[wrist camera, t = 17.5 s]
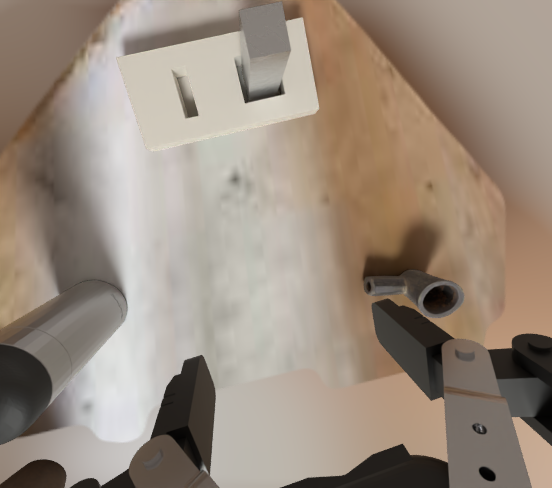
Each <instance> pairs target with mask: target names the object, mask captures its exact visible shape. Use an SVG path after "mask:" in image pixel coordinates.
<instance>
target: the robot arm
mask: <svg viewBox="0 0 552 488" xmlns="http://www.w3.org/2000/svg"><path fill="white" fill-rule="evenodd" d="M372 313H373V319H374V325H375V331H376V335H377V338H378V340H379V342H380V343H381V345H382V346H383V347H384V348H385V349H386V351H387V352H388V353H389V354H390V355H391V356H392V357H393V358H394V360H395V361H396V362H397V363H398V364H399V365H400V366H401V367H402V369H403V370H404V371H405V372H406V373H407V374H408V375H409V376H410V377H411V378H412V380H413V381H414V382H415V383H416V384H417V385H418V387H419V388H420V389H421V390H422V391H423V392H424V393H425V394H426V395H427V397H428V398H429V399H430V400H431V401H432V400H434V399H437V398H440V397H442V398H443V399H444V401H445V402H444V403H445V420H446V434H447V435H446V436H447V453H448V463H447V462H445V461H442V460H439V459H436V458H433V457H428V456H421V455H410V454H409V453H408V451H407V450H406V448H405V446H404V445H403V444H400V445H398V446H395V447H392V448H389V449H387V450H384V451H381V452H378V453H376V454H373V455H371V456H370V457H369V458H367V459H366V460H365V461H363V462H362V463H361V464H359V465H358V466H357V467H355V468H354V469H353V470H351V471H350V472H349V473H347V474H346V475H343V476H330V477H315V478H314V477H313V478H306V479H303V480H301V481H298V482H295V483H292V484H290V485H287V486H284V487H281V488H532V487H531V483H530V479H529V476H528V472H527V469H526V466H525V462H524V459H523V455H522V452H521V448H520V445H519V441H518V438H517V435H516V431H515V428H514V424H513V421H512V417H520V418H521V419H522V420H524V421H525V422H526V423H527V424H528V425H529V426H530V427H531V428H532V429H534V430H535V431H536V432H537V433H538V434H539V435H541V437H542V438H543V439H545V440H546V441H547V442H548V443H549V444H550V445H551V446H552V338H550V337H547V336H543V335H538V334H521V335H518V336H515V337H514V338H513V339H512V348H508V349H493V350H487V349H486V348H485V347H483V346H482V345H480V344H479V343H476V342H474V341H471V340H466V339H454V338H453V337H452V336H450V335H449V334H448V333H446V332H445V331H443V330H442V329H441V328H439V327H438V326H436V325H435V324H434V323H432V322H430V320H428V319H427V318H425V317H423V315H421V314H420V313H419V312H417V311H416V310H414V309H412V308H409V307H406V306H398V305H396V304H395V303H394V302H393V301H391V300H390V299H384V300H381V301H378V302H375V303H372ZM126 315H127V304H126V301H125V299H124V297H123V295H122V294H121V293H120V291H119V290H118V289H116V288H115V287H114V286H112V285H110V284H108V283H106V282H102V281H96V280H91V281H85V282H81V283H79V284H77V285H75V286H74V287H72V288H70V289H69V290H67V291H65V292H63V293H62V294H60V295H58V296H56V297H55V298H53V299H51V300H50V301H48V302H46V303H45V304H43V305H41V306H40V307H38V308H36V309H34V310H33V311H31V312H29V313H28V314H26V315H24V316H23V317H21V318H19V319H17V320H16V321H14V322H12V323H11V324H9V325H7V326H6V327H4V328H2V329H0V445H1V444H4V443H7V442H9V441H11V440H13V439H15V438H16V437H18V436H20V435H21V434H22V433H23V432H25V431H26V430H27V429H28V428H29V427H30V426H31V425H32V424H33V423H34V422H35V421H36V420H37V419H38V417H39V416H40V415H41V414H42V413H43V412H44V411H45V409H46V408H47V407H48V406H49V405H50V404H51V403H52V402H53V401H54V400H55V398H56V397H57V396H58V395H59V394H60V393H61V392H62V391H63V389H64V388H65V387H66V386H67V385H68V384H69V383H70V382H71V380H72V379H73V378H74V377H75V376H76V375H77V374H78V373H79V371H80V370H81V369H82V368H83V367H84V366H85V365H86V364H87V363H88V361H89V360H90V359H91V358H92V357H93V356H94V355H95V354H96V352H97V351H98V350H99V349H100V348H101V347H102V346H103V345H104V344H105V342H106V341H107V340H108V339H109V338H110V337H111V336H112V335H113V334H114V332H115V331H116V330H117V329H118V328H119V327H120V326H121V324H122V323H123V322H124V320H125V318H126ZM215 397H216V395H215V387H214V383H213V381H212V378H211V375H210V372H209V370H208V367H207V364H206V362H205V359H204V357H203V356H202V355H200V356H197V357H193V358H190V359H187V360H185V361H184V363H183V367H182V371H181V374H179V375H175V376H174V377H173V378H172V380H171V381H170V383H169V384H168V385H167V387H166V390H165V394H164V399H163V400H162V403H161V408H160V410H159V413H158V416H157V419H156V423H155V426H154V429H153V432H152V435H151V439H150V440H149V441H148V442H146V443H145V444H144V445H143V446H142V447H141V448H140V449H139V450H138V451H137V452H136V454H135V455H134V457H133V459H132V461H131V463H130V466H129V469H127V470H126V471H125V472H123V473H122V474H120V475H118V476H117V477H115V478H114V479H112V480H110V481H109V482H107V483H106V484H104V485H102V486H100V484H99V482H98V481H97V480H96V479H94V478H88V479H85V480H82V481H80V482H78V483H76V484H74V485H73V486H72V487H70V488H219V487H218V486H217V484H216V483H215V482H214V481H213V479H212V478H211V477H210V466H211V453H212V439H213V425H214V413H215V399H216V398H215Z"/></svg>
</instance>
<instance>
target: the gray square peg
mask: <svg viewBox="0 0 552 488" xmlns="http://www.w3.org/2000/svg"><path fill="white" fill-rule="evenodd" d="M239 23H240V44H241V65H242V75H243V80H244V84H245V88H246V92H247V97H248V101H249V102H253V101H258V100H262V99H267V98H271V97H275V96H276V95H277V92H278V89H279V86H280V83H281V80H282V77H283V74H284V71H285V68H286V65H287V62H288V58H289V55H290V52H291V47H290V41H289V36H288V31H287V26H286V20H285V15H284V10H283V5H282V1H281V2H276V3H272V4H267V5H262V6H257V7H252V8H247V9H242V10H239Z"/></svg>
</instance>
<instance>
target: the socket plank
mask: <svg viewBox="0 0 552 488" xmlns="http://www.w3.org/2000/svg"><path fill="white" fill-rule="evenodd" d="M286 26H287V31H288V36H289V41H290V47H291V52H290V55H289V58H288V62H287V65H286V68H285V71H284V74H283V77H282V80H281V83H280V91H281V95H280V96H275V97H271V98H267V99H262V100H258V101H253V102H249V103H245V102H244V98H243V94H242V90H241V86H240V81H239V77H238V73H237V69H236V66H241V44H240V31H237V32H232V33H228V34H223V35H219V36H214V37H209V38H205V39H200V40H195V41H191V42H186V43H181V44H177V45H172V46H167V47H163V48H158V49H153V50H149V51H144V52H139V53H135V54H130V55H126V56H121V57H116V59H117V62H118V65H119V68H120V71H121V75H122V78H123V81H124V84H125V87H126V90H127V93H128V96H129V99H130V102H131V105H132V108H133V111H134V114H135V117H136V120H137V123H138V126H139V129H140V132H141V135H142V138H143V141H144V144H145V147H146V149H148V150H151V151H158V150H162V149H167V148H171V147H175V146H179V145H184V144H188V143H192V142H196V141H201V140H205V139H209V138H214V137H218V136H222V135H226V134H231V133H235V132H239V131H244V130H248V129H252V128H256V127H261V126H265V125H269V124H274V123H278V122H282V121H286V120H291V119H295V118H299V117H303V116H308V115H312V114H315V112H316V111H317V110H318V109H319V104H318V99H317V93H316V88H315V82H314V77H313V71H312V66H311V60H310V55H309V49H308V44H307V38H306V33H305V28H304V22H303V17H302V18H298V19H293V20H288V21H286ZM184 76H188V79H189V82H190V86H191V89H192V93H193V96H194V100H195V104H196V107H197V111H198V114H199V116H195V117H191V118H188V115H187V111H186V108H185V104H184V101H183V97H182V94H181V90H180V87H179V84H178V80H177V78H179V77H184Z"/></svg>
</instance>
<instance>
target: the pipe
mask: <svg viewBox="0 0 552 488" xmlns="http://www.w3.org/2000/svg"><path fill="white" fill-rule="evenodd" d="M364 290H365V292H366V293H367V294H368V295H371V296H382V295H395V294H404V295H405V296H407V297H408V298H409V299H410V300H411V301H412V302H413V303H414V304H415V305H416V306H417V307H418V308H419V310H420V311H421V312H422V313H423V314H424V315H425V316H427V317H431V318H441V317H445V316H448V315H450V314H451V313H453V312H454V311H456V310H457V309H458V308H459V307H460V306H461V305H462V304H463V302H464V293H463V290H462V289H461V287H460V286H459V285H457V284H456V283H454V282H452V281H448V280H444V279H441V278H438V277H434V276H432V275H429V274H427V273H424V272H422V271H419V270H407V271H405V272H403V273H402V274H401V275H400V276H369V277H366V278H365V279H364Z"/></svg>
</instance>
